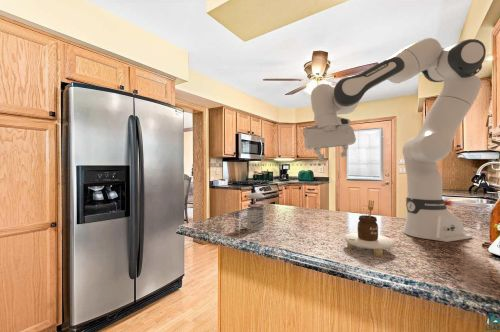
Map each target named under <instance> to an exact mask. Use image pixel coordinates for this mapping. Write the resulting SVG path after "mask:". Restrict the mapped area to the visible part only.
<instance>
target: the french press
mask: <svg viewBox="0 0 500 332" xmlns="http://www.w3.org/2000/svg"><path fill="white" fill-rule="evenodd" d="M258 173H259V171H257V170H254V171H253V174H255V177H257V174H258ZM265 197H266V196H265V195H264V194H263V193H259V192H257V191H254V192H252V193H249V194H247V195H246V198H247V199H255V200H257V199H262V203H264V202H266V204H267V205H266V206H268V207H267V209H266V210H265V208H264V204H262V203H261V204H260V203H259V204H258V203H253V204H248V205H247V207H248V208H246V224H247V225H245V226H246V228H247V229H246V230H248V229H251V230H250V231H264V230H266V229H267V228H268V227H267V226H266V225H265V224H266V223H265V222H266V220H265V219H266V218H265V217H266V216H267V215H268V214H269V212H270V210H271V204H270V202H269V200H268V199H266V198H265ZM263 229H264V230H263Z"/></svg>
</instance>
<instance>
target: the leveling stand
mask: <svg viewBox="0 0 500 332" xmlns="http://www.w3.org/2000/svg"><path fill="white" fill-rule="evenodd" d="M344 241H345V243H347V245H346V246H347V248H348V249H350V250H354V249H356V247H357V248H362V249H368V250H373V256H375V257H378V258H380V257H383V256H384V250H388V249H391V248H393V247H394V240H393V239H392V238H389V237H387V236H384V235H381V234H378V239H377V240H376V241H366V240H362V239H359V238H358V232H352V233H351V232H350V233H347V234H345V235H344Z"/></svg>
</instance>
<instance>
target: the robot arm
mask: <svg viewBox="0 0 500 332" xmlns="http://www.w3.org/2000/svg"><path fill="white" fill-rule="evenodd" d="M486 50H487V49H486V46H485V43H483V42H482V41H480V40H479V39H475V38H473V39H472V38H470V39H465V40H461V41H459V42H457V43H455V44H453V45H451V46H448V47H446V48H444V47H442V44H441V43H440V42H439V41H438V40H437V39H435V38H432V37H428V38H427V37H426V38H423V39H421V40H418V41H416V42H414V43H412V44H410V45H408V46H406V47H404V48H403V49H400V50H399V51H398V52H396V53H394V54H393V55H392V56H390V57H388V58H387V59H385V60H383V61H380V62H379V63H377V64H376V65H374V66H372V67H370V68H368V69H367V70H365V71H362V72H361V73H358V74H354V75H348V76H345V77H342V78H340V80H339V81H338V82H336V84H335V86H334V85H331V84H329V83H327V82H326V83H325V82H324V83H320V84H318V85H317V86H315V87H314V88H313V90H312V91H311V93H310V103H311V108H312V112H313V114H314V117H313V120H314V125H310V126H309V125H308V126H305V127H304V128H303V130H302V133H303V134H302V135H303V137H304V139H303V140H304V147H305V150H308V151H310V150H311V151H312V150H313V151H314V152H315V154H316V155H317V156H318V159H319V161H321V160H324V159H325V154H322V152H321V149H326V148H336V147H341V149H342V152H341V153H340V156H341V158H346V157H347V156H348V154H347V151H348V150H349V146H351V145H354V144H355V143H356V141H357V138H356V135H355V131H354V128H353V127H352V126H351V123H352V121H351V120H350V118H344V117H341V116H338V115H347V114H350V113H352V112H353V111H355V109H357V107H358V106H359V103H360V101H361V99H362V98H363V96H364V95H365V94H366V93H367V92H368V91H369V90H371V89H372V88H374V87H376V86H379V84H381V83H383V82H386V81H387V80H388V81H389V82H391V83H393V84H400V83H403V82H407V81H409V80H410V79H412V78H414V77H416V76H417V75H419V74H420V73H422V74H423V75H424V78H425V79H427V80H428V81H429V82H432V83H442V82H443V85H442V90H441V91H440V93H439V94H438V96H437V97H436V98H435V100H434V102H433V104H432V105H431V106H430V109H429V110H428V112H427V113H426V115H425V117H424V122H423V123H422V126H421V129H420V130H419V132H418V133H417V135H416V136H414V137H411V138H409V139H408V140H407V141H406V142H405V143H404V145H403V147H402V156H403V159H404V167H405V171H406V179H407V180H406V181H407V197H405V198H406V199H405V206H406V215H405V222H404V226H403V229H402V233H403V234H405V235H408V236H411V237H415V238H419V239H424V240H425V239H426V240H434V241H440V242H446V243H447V242H448V243H449V242H455V241H461V240H469V239H473V235H472V234H470V233H468V232H465V231H464V224H463V220H461V219H460V218H459V217H458V216H457V215H455V214H454V213H452V212H451V211H450V210H448V209H447V206H449V207H452V206H453V203H454V202H453V201H452V200H448V199H445V200H444V199H443V178H442V176H441V173H440V171H439V167H438V163H437V162H439V161H442V160H443V159H445V158H446V157H447V156H448V155H450V153H451V152H452V149H453V148H452V147H453V145H452V144H453V141H454V139H455V136H456V133H457V131H458V129H459V126H460V125H461V123H462V121H463V120H464V119H465V117H466V116H467V114H468V112H470V109H471V108H472V106H473V104H474V103H475V101H476V99H477V97H478V96H479V92H480V90H481V87H482V79H481V78H480V77H479V76H477V74H479V72H480V71H482V68H483V63H484V61H485V59H486Z"/></svg>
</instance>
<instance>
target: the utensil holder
mask: <svg viewBox="0 0 500 332" xmlns="http://www.w3.org/2000/svg"><path fill="white" fill-rule="evenodd" d="M374 202H375V201H374V200H368V205H366V204H362V209H363V210H362V211H363V213H364V212H365V211H364V209H365V210H366V213H365V214H363V213H362V211H360V212H361V215H359V217H358V220H359V221H358V222H357V233H358V238H359V239H362V240H366V241H376V240H377V239H378V235H379V225H378V223H377V221H378V220H377V217H376V216H374V215H371V214H372V211H373V210H374V204H375V203H374ZM364 207H367V208H364ZM367 209H368V210H367ZM367 211H369V213H368V212H367Z"/></svg>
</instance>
